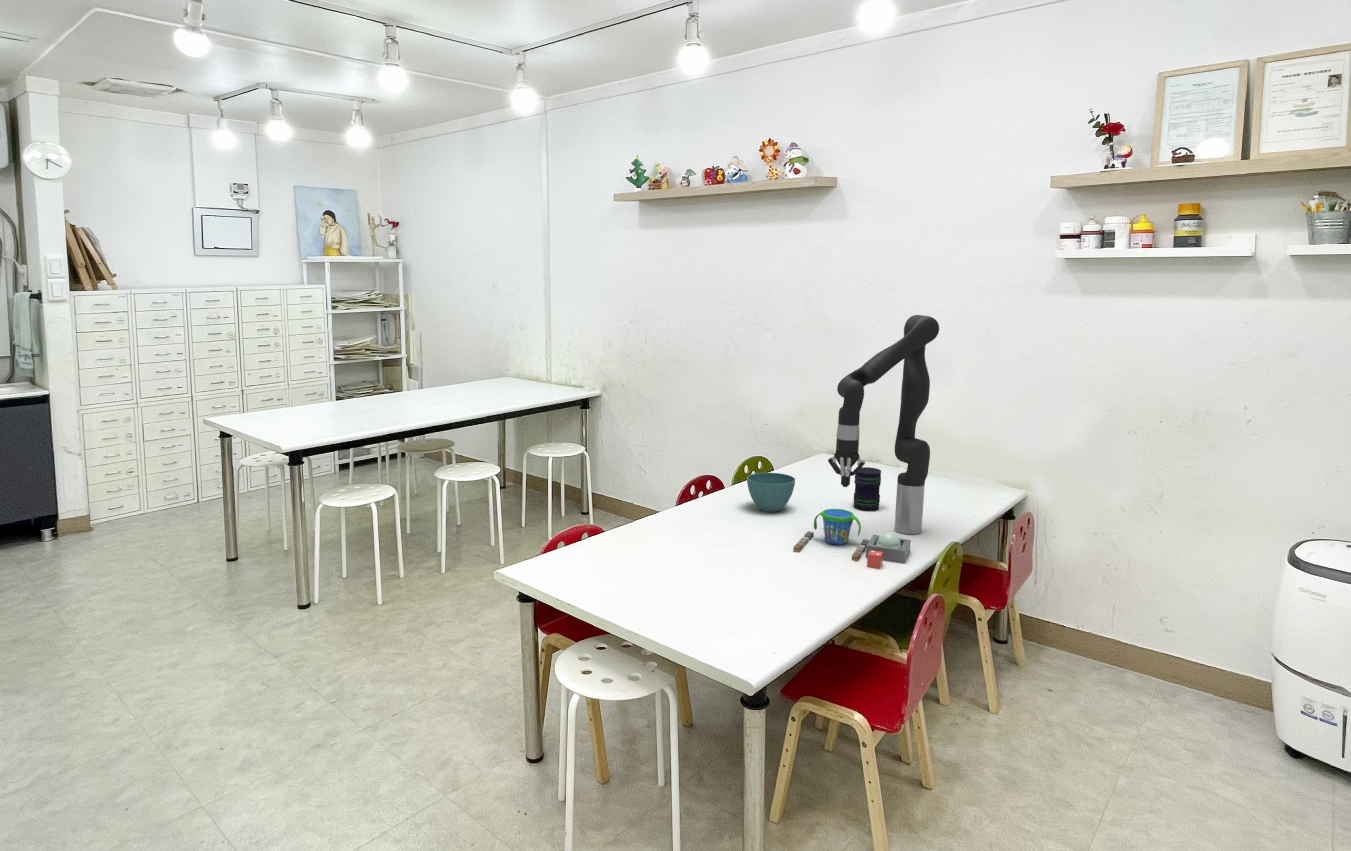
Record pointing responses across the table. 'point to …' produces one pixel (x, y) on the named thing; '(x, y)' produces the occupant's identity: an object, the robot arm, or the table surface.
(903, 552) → the frame
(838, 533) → the snack cup
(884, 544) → the dome
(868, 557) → the red die
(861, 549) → the track markers
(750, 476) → the teal bowl
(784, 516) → the table surface
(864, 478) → the storage jar
